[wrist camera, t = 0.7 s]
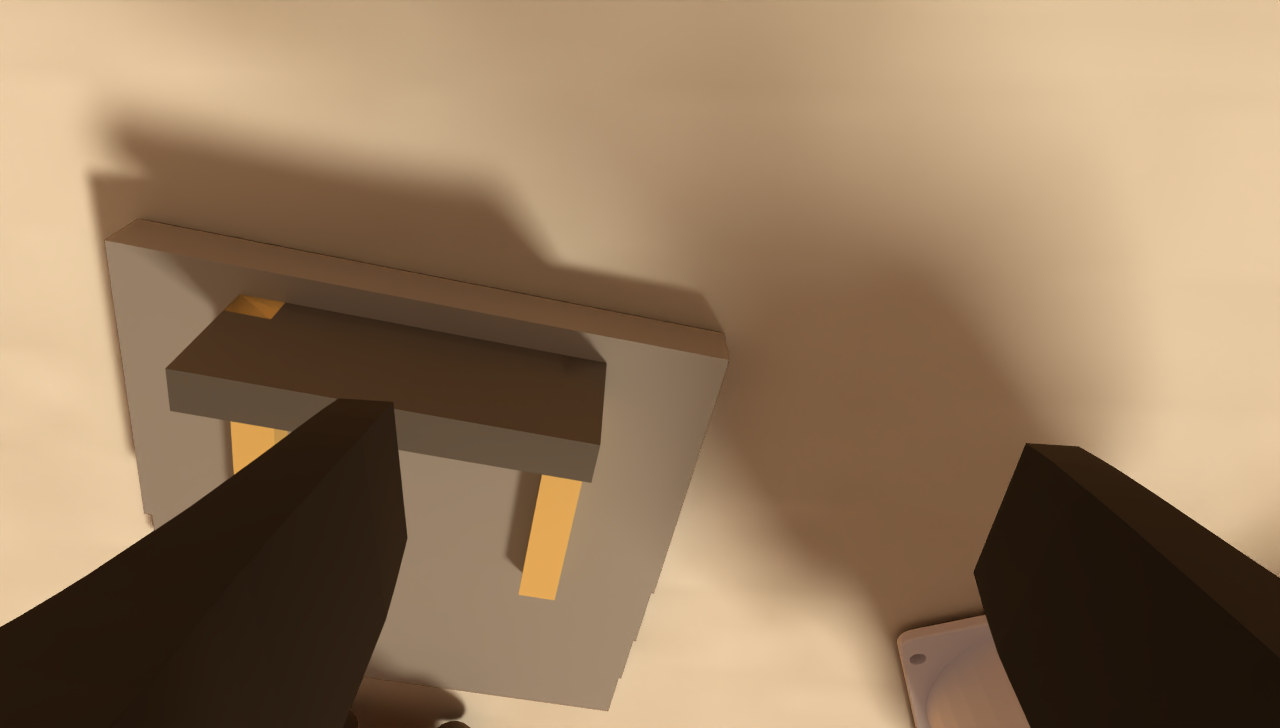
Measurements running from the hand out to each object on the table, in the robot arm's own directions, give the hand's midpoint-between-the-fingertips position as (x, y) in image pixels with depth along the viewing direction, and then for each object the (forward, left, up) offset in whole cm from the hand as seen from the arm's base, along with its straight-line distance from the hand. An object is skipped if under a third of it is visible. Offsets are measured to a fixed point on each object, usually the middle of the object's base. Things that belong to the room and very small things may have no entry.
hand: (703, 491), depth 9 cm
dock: (-7, +10, -10) cm, 15 cm away
